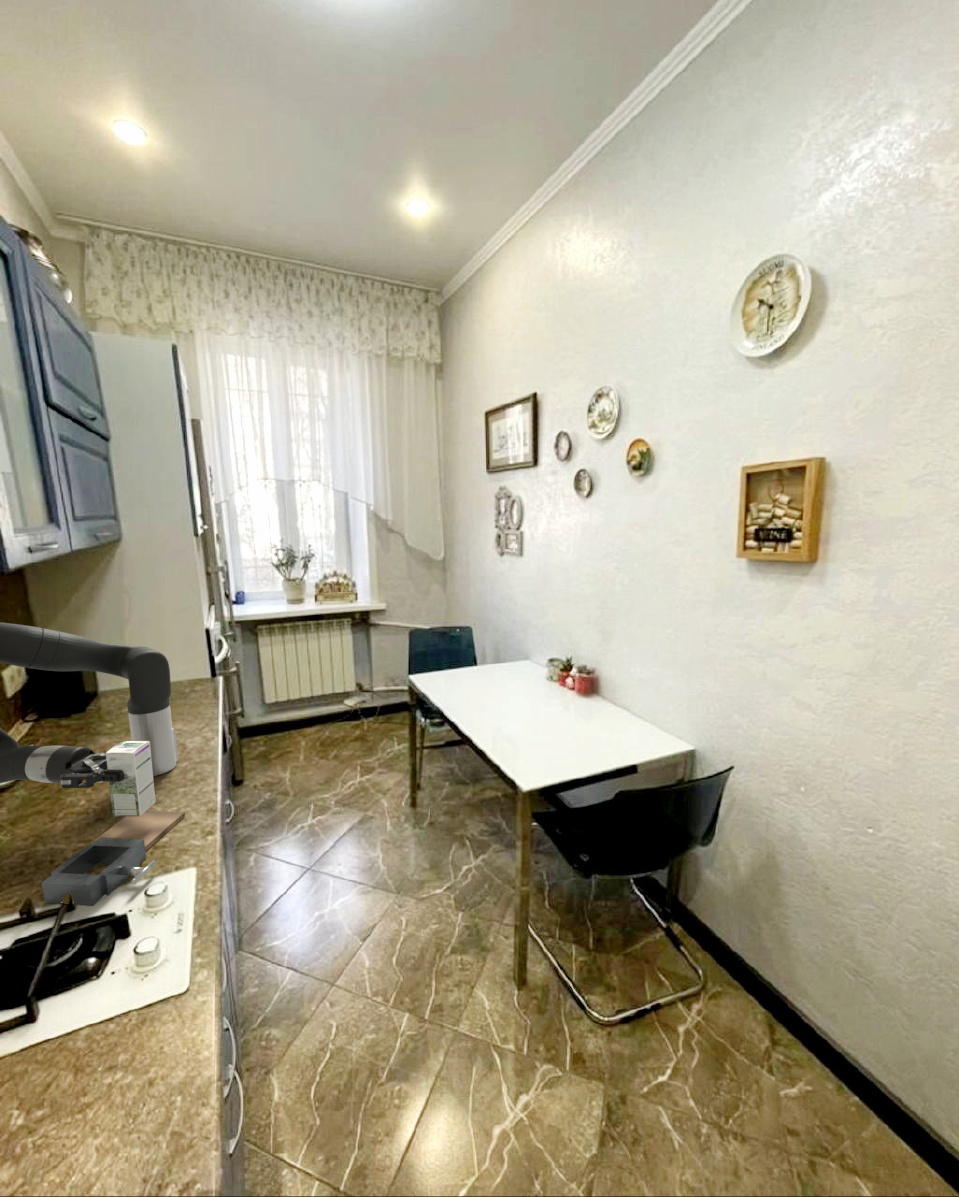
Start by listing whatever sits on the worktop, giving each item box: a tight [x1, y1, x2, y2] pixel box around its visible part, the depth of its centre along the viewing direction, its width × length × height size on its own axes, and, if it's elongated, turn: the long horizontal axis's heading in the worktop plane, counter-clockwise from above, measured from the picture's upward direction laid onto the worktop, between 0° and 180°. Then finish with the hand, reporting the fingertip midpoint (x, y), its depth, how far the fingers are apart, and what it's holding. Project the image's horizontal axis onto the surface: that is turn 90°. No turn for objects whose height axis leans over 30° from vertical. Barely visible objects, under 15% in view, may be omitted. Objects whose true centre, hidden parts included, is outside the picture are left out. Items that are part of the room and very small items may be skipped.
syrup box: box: [105, 740, 156, 818], centre depth 104 cm, size 6×6×14 cm
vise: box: [41, 837, 157, 907], centre depth 92 cm, size 12×15×4 cm
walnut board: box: [89, 810, 186, 852], centre depth 107 cm, size 12×12×1 cm
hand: (134, 768), depth 104 cm, fingers closed on syrup box, 6 cm apart
